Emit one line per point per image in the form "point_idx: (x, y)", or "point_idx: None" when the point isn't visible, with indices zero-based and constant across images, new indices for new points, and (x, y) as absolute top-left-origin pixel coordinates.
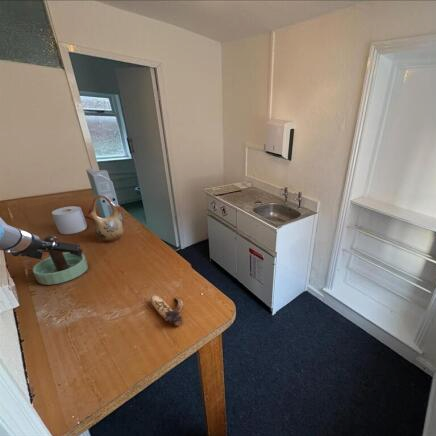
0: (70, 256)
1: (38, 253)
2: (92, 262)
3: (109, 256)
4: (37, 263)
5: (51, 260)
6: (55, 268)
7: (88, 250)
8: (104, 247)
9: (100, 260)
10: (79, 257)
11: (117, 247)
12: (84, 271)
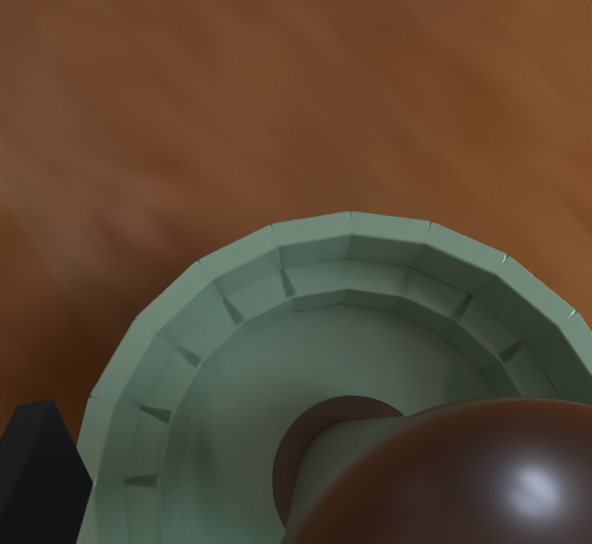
0: (308, 259)
1: (32, 505)
2: None
3: (583, 159)
4: None
5: (154, 366)
6: (274, 483)
7: (296, 64)
8: (413, 12)
9: (546, 231)
10: (416, 267)
11: (541, 8)
12: None
